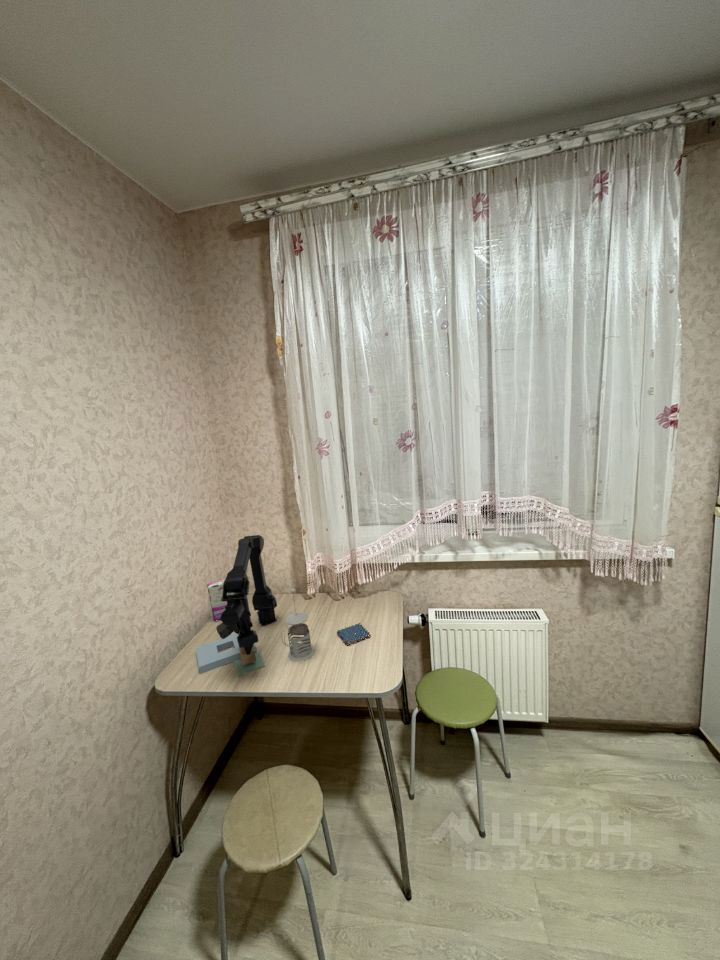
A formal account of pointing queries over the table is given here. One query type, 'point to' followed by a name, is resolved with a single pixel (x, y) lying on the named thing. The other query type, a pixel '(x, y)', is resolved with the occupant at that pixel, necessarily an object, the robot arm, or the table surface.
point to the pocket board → (212, 659)
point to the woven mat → (352, 634)
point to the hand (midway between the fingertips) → (247, 650)
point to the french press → (298, 628)
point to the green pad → (249, 665)
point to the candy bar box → (217, 598)
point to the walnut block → (247, 656)
